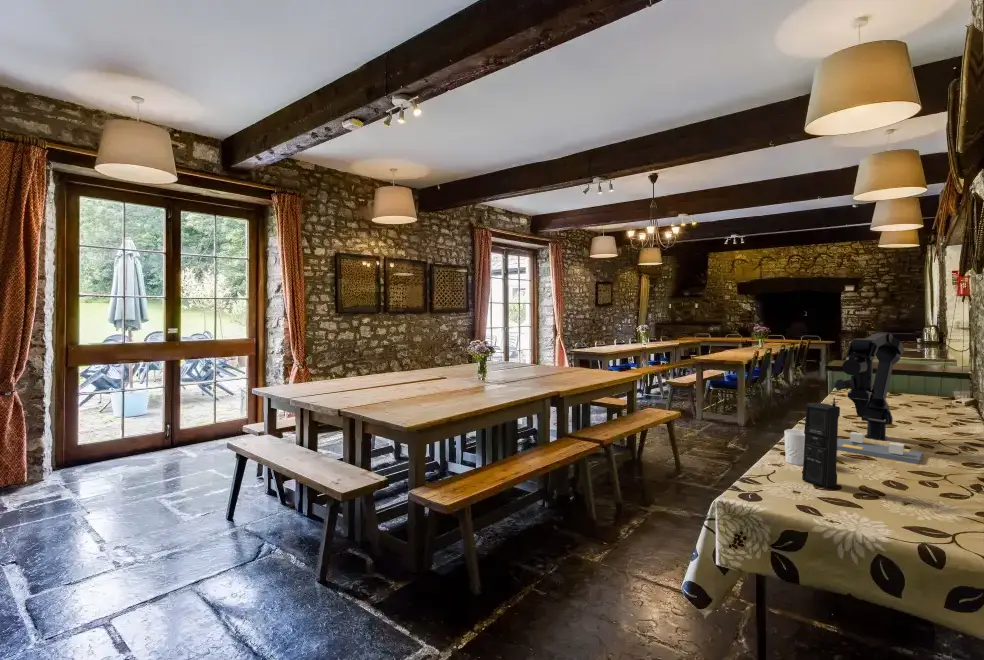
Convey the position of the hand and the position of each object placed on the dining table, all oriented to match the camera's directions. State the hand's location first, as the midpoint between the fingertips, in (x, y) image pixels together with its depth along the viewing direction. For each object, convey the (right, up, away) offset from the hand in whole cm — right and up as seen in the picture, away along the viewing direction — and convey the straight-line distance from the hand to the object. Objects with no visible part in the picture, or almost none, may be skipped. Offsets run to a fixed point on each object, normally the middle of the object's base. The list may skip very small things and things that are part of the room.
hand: (861, 414), depth 183 cm
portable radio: (-44, -13, -41) cm, 61 cm away
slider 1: (-5, -9, -4) cm, 11 cm away
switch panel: (-3, -11, -11) cm, 16 cm away
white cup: (-38, -12, -23) cm, 46 cm away
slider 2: (-2, -10, -18) cm, 21 cm away
